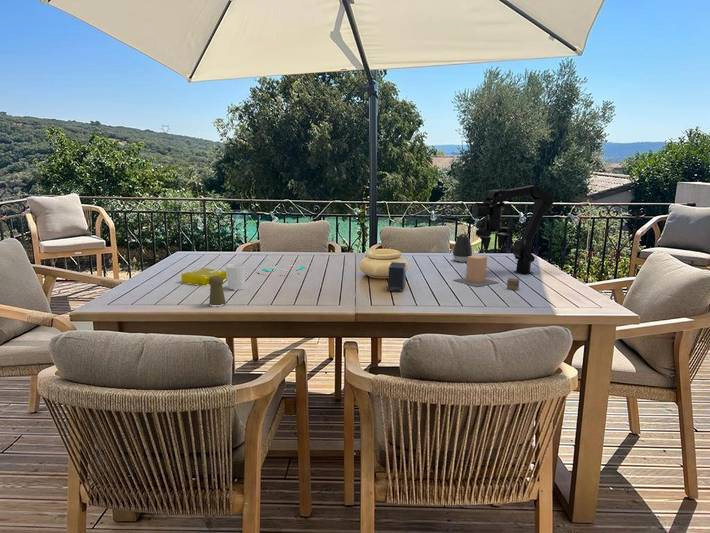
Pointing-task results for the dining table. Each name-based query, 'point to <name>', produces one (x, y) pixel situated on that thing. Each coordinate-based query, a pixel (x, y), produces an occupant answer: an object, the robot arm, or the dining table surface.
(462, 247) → the dark grey rounded vessel
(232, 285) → the white cup
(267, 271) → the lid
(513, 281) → the stub post
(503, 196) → the robot arm
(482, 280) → the tan rectangular block
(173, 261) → the dining table surface
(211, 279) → the cork
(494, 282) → the rubber mat
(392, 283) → the small box
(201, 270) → the element tile
